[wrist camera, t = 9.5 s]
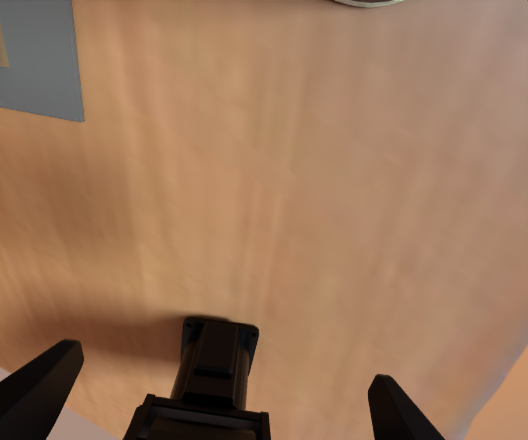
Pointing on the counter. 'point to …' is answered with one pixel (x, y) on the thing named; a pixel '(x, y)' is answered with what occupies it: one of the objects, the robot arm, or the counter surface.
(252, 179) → the counter surface
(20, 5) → the mat
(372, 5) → the coffee can
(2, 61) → the wooden chair
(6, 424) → the robot arm
